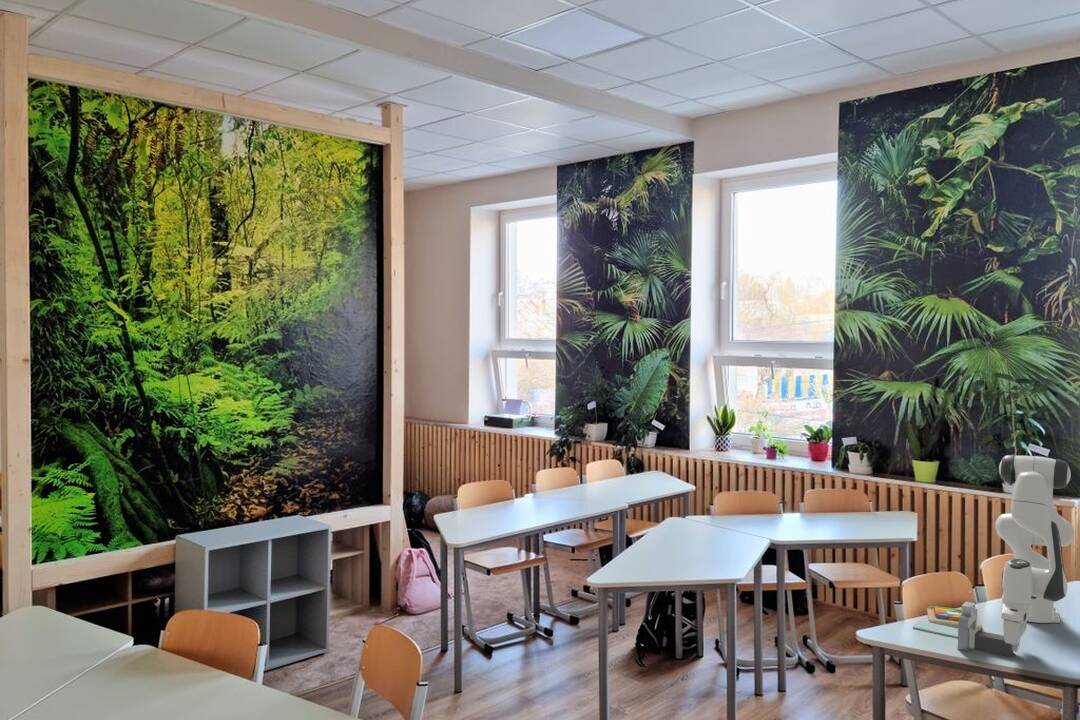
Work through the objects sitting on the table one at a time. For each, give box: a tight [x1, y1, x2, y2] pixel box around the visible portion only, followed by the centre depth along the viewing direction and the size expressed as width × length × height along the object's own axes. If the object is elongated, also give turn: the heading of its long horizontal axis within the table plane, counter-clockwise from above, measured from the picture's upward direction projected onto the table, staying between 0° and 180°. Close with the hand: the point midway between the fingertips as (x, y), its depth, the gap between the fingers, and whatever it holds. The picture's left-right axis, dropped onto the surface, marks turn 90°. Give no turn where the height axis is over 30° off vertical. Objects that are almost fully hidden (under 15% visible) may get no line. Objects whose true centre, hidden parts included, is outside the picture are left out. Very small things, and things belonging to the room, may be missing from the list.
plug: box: [969, 629, 1014, 658], centre depth 288 cm, size 5×14×5 cm, turn 52°
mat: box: [912, 620, 958, 639], centre depth 306 cm, size 9×18×1 cm, turn 51°
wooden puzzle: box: [926, 605, 983, 631], centre depth 318 cm, size 18×19×4 cm
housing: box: [957, 601, 978, 652], centre depth 292 cm, size 14×3×14 cm, turn 141°
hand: (1015, 650), depth 283 cm, fingers closed, pressing on plug
